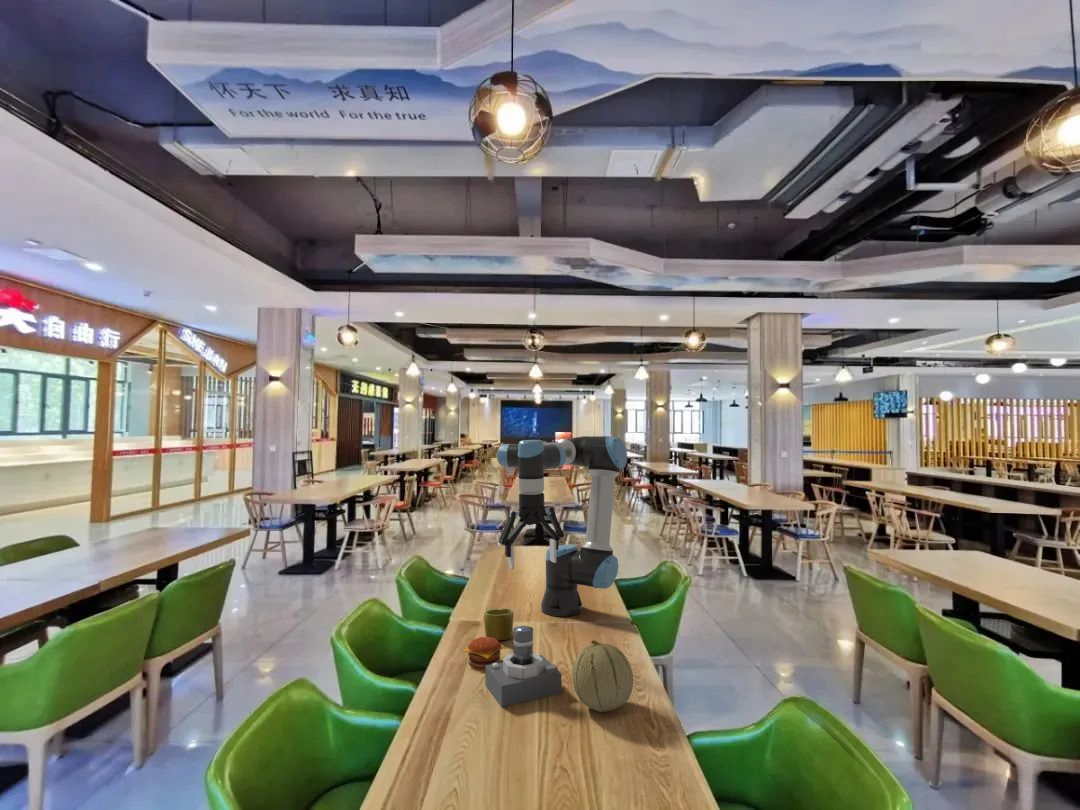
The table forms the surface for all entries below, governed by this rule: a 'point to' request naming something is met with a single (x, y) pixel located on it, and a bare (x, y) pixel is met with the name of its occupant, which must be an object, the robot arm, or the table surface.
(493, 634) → the mug
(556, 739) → the table surface
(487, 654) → the hamburger
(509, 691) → the camera body
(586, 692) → the cantaloupe
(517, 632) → the lens
